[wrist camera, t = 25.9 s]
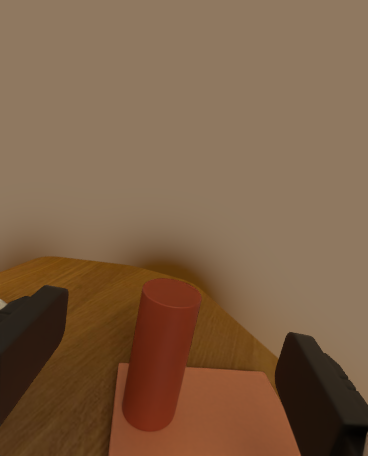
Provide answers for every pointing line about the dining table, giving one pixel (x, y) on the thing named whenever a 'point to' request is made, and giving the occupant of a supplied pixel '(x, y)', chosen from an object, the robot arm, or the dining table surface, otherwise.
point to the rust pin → (159, 352)
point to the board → (210, 418)
